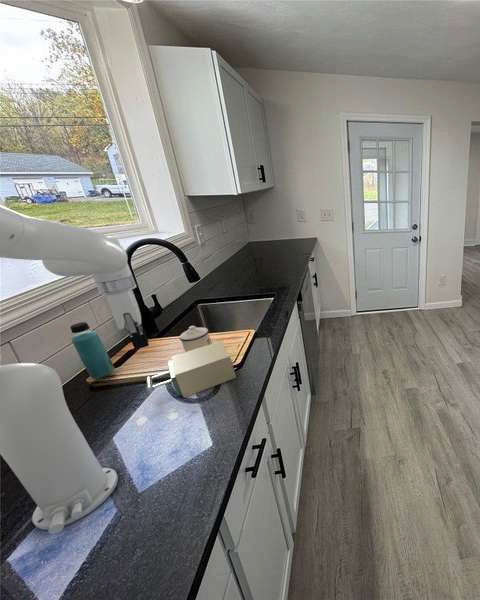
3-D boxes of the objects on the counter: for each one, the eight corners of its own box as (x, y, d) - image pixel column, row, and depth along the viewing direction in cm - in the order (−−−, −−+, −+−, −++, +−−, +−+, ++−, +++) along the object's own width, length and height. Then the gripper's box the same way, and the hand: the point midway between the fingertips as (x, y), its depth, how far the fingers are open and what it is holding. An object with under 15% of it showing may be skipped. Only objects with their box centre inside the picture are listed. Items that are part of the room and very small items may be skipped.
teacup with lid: (216, 355, 115) (207, 327, 111) (187, 364, 111) (176, 335, 106) (213, 343, 124) (204, 316, 120) (186, 350, 120) (176, 323, 116)
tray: (152, 406, 89) (144, 387, 87) (150, 385, 98) (143, 369, 96) (227, 377, 100) (222, 360, 98) (219, 361, 109) (214, 346, 107)
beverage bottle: (120, 374, 107) (95, 321, 99) (95, 385, 102) (67, 330, 94) (113, 369, 110) (88, 317, 103) (88, 379, 105) (61, 326, 98)
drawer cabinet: (183, 397, 93) (174, 375, 90) (178, 377, 103) (170, 356, 100) (236, 377, 101) (229, 356, 98) (227, 360, 111) (220, 340, 108)
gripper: (100, 281, 86) (125, 340, 93) (95, 296, 74) (124, 362, 81) (134, 275, 90) (156, 332, 97) (134, 288, 78) (159, 351, 85)
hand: (141, 345), depth 89 cm, fingers closed
